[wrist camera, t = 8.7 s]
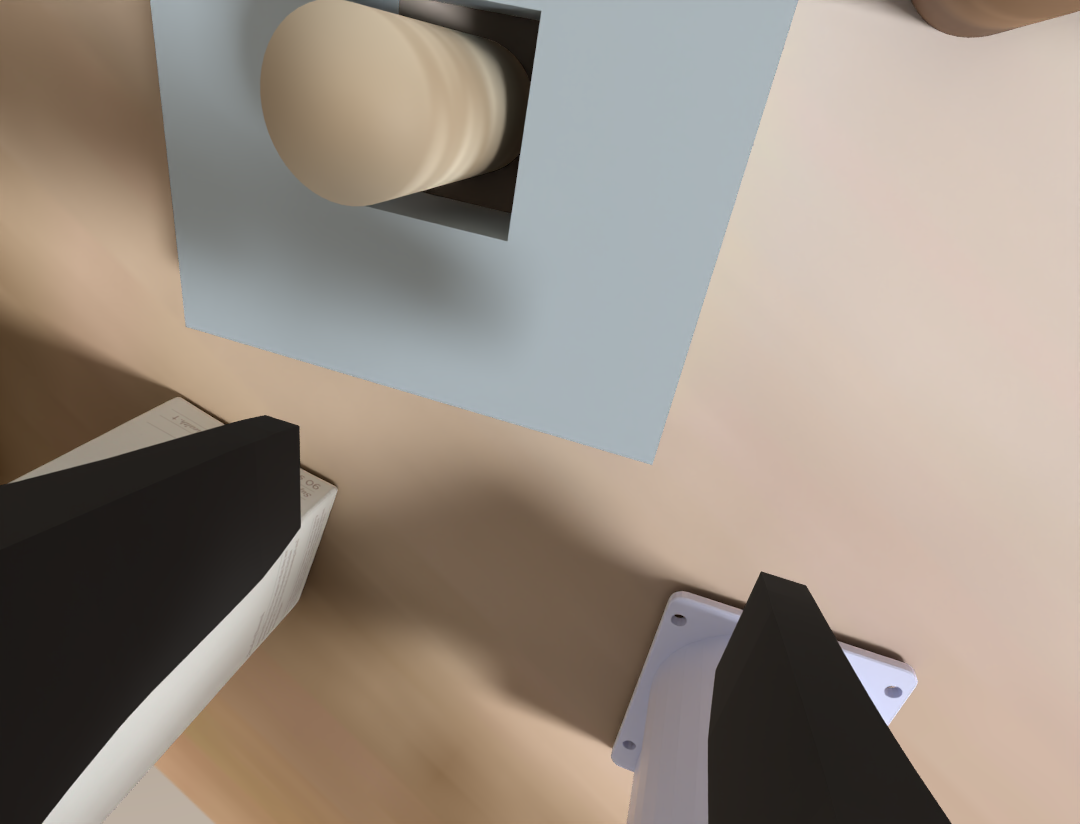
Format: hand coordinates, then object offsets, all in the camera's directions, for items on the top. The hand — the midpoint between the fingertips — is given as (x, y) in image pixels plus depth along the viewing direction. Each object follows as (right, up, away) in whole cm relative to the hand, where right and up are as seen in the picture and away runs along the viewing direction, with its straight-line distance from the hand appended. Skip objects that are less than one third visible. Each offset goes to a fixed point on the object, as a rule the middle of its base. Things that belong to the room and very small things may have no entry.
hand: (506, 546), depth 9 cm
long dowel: (-1, +10, +7) cm, 12 cm away
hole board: (-1, +10, +7) cm, 12 cm away
